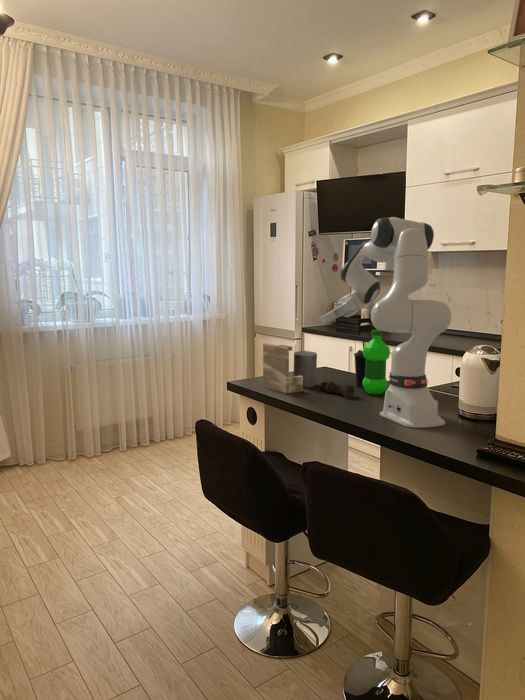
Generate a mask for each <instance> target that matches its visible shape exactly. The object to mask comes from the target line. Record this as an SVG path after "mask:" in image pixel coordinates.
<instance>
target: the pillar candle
mask: <svg viewBox="0 0 525 700" xmlns="http://www.w3.org/2000/svg"><path fill="white" fill-rule="evenodd" d="M317 359H318V353H317V351H316V352H315V351H311V350H310V351H309V350H306V349H304V350H298V351H295V352H293V377H294V376H303V389H304V388H305V389H306V388H313V387H316V385H317V368H318V367H317V363H318V361H317Z"/></svg>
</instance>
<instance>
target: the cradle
mask: <svg viewBox="0 0 525 700" xmlns="http://www.w3.org/2000/svg"><path fill="white" fill-rule="evenodd" d="M291 351H293V346H291V345H287V344H280V345H279V344H277V345H276V344H272V343H268V342H263V343H262V371H263V372H262V386H263V387H265V388H267V389H271V390H273V391H276V392H279V393H281V394H285V395H289V394H291V393H298V392H303V391H304V387H303V376H294V375H293V376H290V352H291Z"/></svg>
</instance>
